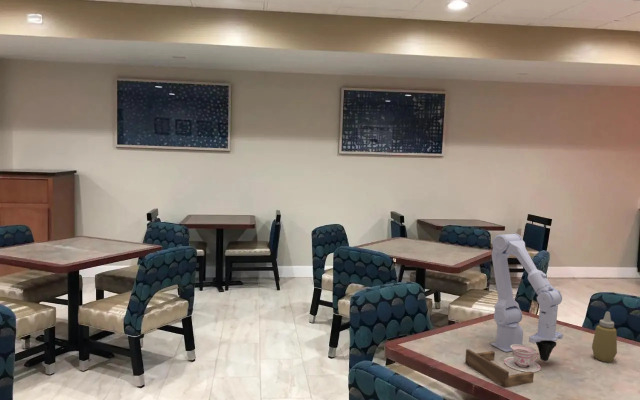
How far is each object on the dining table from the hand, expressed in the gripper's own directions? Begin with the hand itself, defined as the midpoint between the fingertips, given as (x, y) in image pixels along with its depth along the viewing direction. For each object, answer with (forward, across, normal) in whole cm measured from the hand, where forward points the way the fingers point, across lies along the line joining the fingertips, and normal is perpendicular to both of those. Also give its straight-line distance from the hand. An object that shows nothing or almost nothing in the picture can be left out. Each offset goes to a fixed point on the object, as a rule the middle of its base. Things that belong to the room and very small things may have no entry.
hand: (543, 360), depth 166 cm
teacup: (+2, -8, +2) cm, 9 cm away
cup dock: (+1, -22, 0) cm, 22 cm away
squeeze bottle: (+2, +26, -4) cm, 26 cm away
